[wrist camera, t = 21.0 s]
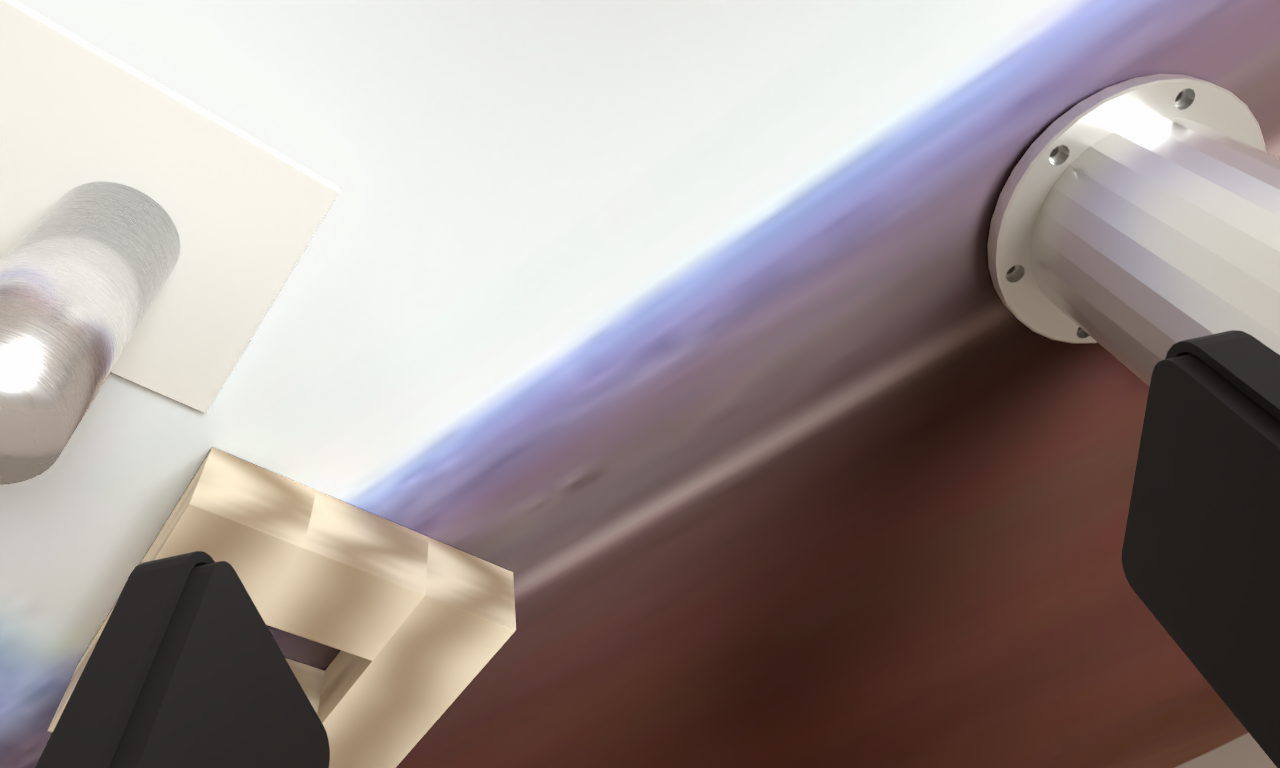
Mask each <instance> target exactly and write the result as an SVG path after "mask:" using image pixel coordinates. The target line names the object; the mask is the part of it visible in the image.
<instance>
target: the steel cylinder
mask: <svg viewBox="0 0 1280 768" xmlns="http://www.w3.org/2000/svg"><path fill="white" fill-rule="evenodd" d="M179 255H180V239H179V234H178V231H177V229H176V226H175V224H174V222H173V221H172V219H171V218H170V216H169V215H168V213H167V212H166V211H165V210H164V209H163V208H162V207H161V206H160V205H159V204H158V203H157V202H156V201H155V200H153V199H152V198H151V197H149V196H148V195H146V194H144V193H143V192H141V191H139V190H137V189H134V188H132V187H129V186H126V185H123V184H119V183H113V182H91V183H86V184H82V185H80V186H77V187H75V188H73V189H71V190H70V191H69V192H67V193H66V194H65V195H64V196H63V197H62V198H61V199H60V200H59V201H58V202H57V203H56V204H55V205H54V206H53V207H52V208H51V209H50V210H49V211H48V212H47V213H46V214H45V215H44V216H43V217H42V218H41V219H40V220H39V221H38V222H37V223H36V225H35V226H34V227H33V228H32V229H31V230H30V231H29V232H28V233H27V234H26V235H25V236H24V237H23V238H22V239H21V240H20V241H19V242H18V243H17V244H16V245H15V246H14V247H13V248H12V249H11V250H10V251H9V252H8V253H7V254H6V255H5V256H4V257H3V258H2V259H1V260H0V484H10V483H16V482H21V481H25V480H27V479H30V478H33V477H35V476H37V475H39V474H41V473H42V472H44V471H45V470H47V469H48V468H49V467H50V466H51V465H52V464H53V463H54V462H55V461H56V459H57V458H58V457H59V455H60V453H61V452H62V450H63V448H64V447H65V445H66V444H67V442H68V440H69V439H70V437H71V435H72V434H73V432H74V431H75V429H76V427H77V426H78V424H79V422H80V421H81V419H82V417H83V416H84V414H85V413H86V411H87V409H88V408H89V406H90V404H91V403H92V401H93V400H94V398H95V396H96V395H97V393H98V391H99V390H100V388H101V386H102V385H103V383H104V382H105V380H106V378H107V377H108V375H109V373H110V372H111V370H112V369H113V367H114V365H115V364H116V362H117V360H118V359H119V357H120V355H121V354H122V352H123V351H124V349H125V347H126V346H127V344H128V342H129V341H130V339H131V338H132V336H133V334H134V333H135V331H136V329H137V328H138V326H139V324H140V323H141V321H142V320H143V318H144V316H145V315H146V313H147V311H148V310H149V308H150V307H151V305H152V303H153V302H154V300H155V298H156V297H157V295H158V293H159V292H160V290H161V289H162V287H163V285H164V284H165V282H166V280H167V279H168V277H169V276H170V274H171V272H172V271H173V269H174V267H175V266H176V263H177V261H178V258H179Z"/></svg>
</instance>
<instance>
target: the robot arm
mask: <svg viewBox="0 0 1280 768" xmlns="http://www.w3.org/2000/svg"><path fill="white" fill-rule="evenodd" d="M987 245H988V267H989V271H990V275H991V278H992V282H993V285H994V288H995V290H996V292H997V294H998V295H999V297H1000V299H1001V301H1002V302H1003V304H1004V305H1005V306H1006V307H1007V308H1008V309H1009V310H1010V312H1011V313H1012V314H1013V315H1014V316H1015V317H1016V318H1017V319H1018V320H1019V321H1021V322H1022V323H1023V324H1024V325H1026V326H1027V327H1028V328H1030V329H1031V330H1032V331H1033V332H1035V333H1038V334H1040V335H1042V336H1045V337H1047V338H1049V339H1052V340H1056V341H1062V342H1067V343H1072V344H1080V343H1099V344H1100V345H1101V346H1102V347H1104V348H1105V349H1106V350H1107V351H1108V352H1109V353H1111V354H1112V355H1113V356H1114V357H1115V358H1116V359H1118V360H1119V361H1120V362H1121V363H1122V364H1123V365H1124V366H1126V367H1127V368H1128V369H1129V370H1130V371H1131V372H1133V373H1134V374H1135V375H1136V376H1137V377H1138V378H1140V379H1141V380H1142V381H1143V382H1144V383H1145V384H1146V385H1148V386H1149V387H1150V388H1149V394H1148V400H1147V406H1146V412H1145V418H1144V424H1143V430H1142V436H1141V442H1140V448H1139V454H1138V460H1137V466H1136V472H1135V478H1134V484H1133V490H1132V496H1131V502H1130V508H1129V514H1128V520H1127V526H1126V532H1125V538H1124V544H1123V550H1122V564H1123V569H1124V572H1125V575H1126V578H1127V580H1128V582H1129V584H1130V586H1131V587H1132V589H1133V590H1134V592H1135V593H1136V594H1137V595H1138V596H1139V598H1140V599H1141V600H1142V601H1143V603H1144V604H1145V605H1146V606H1147V608H1148V609H1149V610H1150V611H1151V612H1152V614H1153V615H1154V616H1155V617H1156V619H1157V620H1158V621H1159V622H1160V624H1161V625H1162V626H1163V627H1164V628H1165V630H1166V631H1167V632H1168V633H1169V635H1170V636H1171V637H1172V638H1173V640H1174V641H1175V642H1176V643H1177V644H1178V646H1179V647H1180V648H1181V649H1182V651H1183V652H1184V653H1185V654H1186V656H1187V657H1188V658H1189V659H1190V660H1191V662H1192V663H1193V664H1194V665H1195V667H1196V668H1197V669H1198V670H1199V672H1200V673H1201V674H1202V675H1203V676H1204V678H1205V679H1206V680H1207V681H1208V683H1209V684H1210V685H1211V686H1212V688H1213V689H1214V690H1215V691H1216V692H1217V694H1218V695H1219V696H1220V697H1221V699H1222V700H1223V701H1224V702H1225V704H1226V705H1227V706H1228V707H1229V708H1230V710H1231V711H1232V712H1233V713H1234V715H1235V716H1236V717H1237V718H1238V720H1239V721H1240V722H1241V723H1242V725H1243V726H1244V727H1245V728H1246V729H1247V731H1248V732H1249V733H1250V734H1251V736H1252V737H1253V738H1254V739H1255V741H1257V743H1258V744H1259V745H1260V747H1261V748H1262V749H1263V750H1264V751H1265V753H1266V754H1267V755H1268V756H1269V758H1270V759H1271V760H1272V761H1273V763H1274V764H1275V765H1276V766H1277V768H1280V158H1278V157H1276V156H1274V155H1271V154H1269V153H1267V152H1266V149H1265V142H1264V139H1263V136H1262V133H1261V130H1260V126H1259V123H1258V122H1257V120H1256V119H1255V117H1254V116H1253V114H1252V113H1251V111H1250V110H1249V108H1248V106H1247V105H1246V104H1244V103H1243V102H1242V101H1241V100H1240V99H1239V98H1237V97H1236V96H1235V95H1234V94H1233V93H1231V92H1230V91H1228V90H1226V89H1223V88H1221V87H1219V86H1217V85H1214V84H1212V83H1210V82H1208V81H1204V80H1201V79H1197V78H1194V77H1191V76H1187V75H1176V74H1156V75H1150V76H1144V77H1138V78H1132V79H1130V80H1127V81H1124V82H1121V83H1118V84H1116V85H1113V86H1110V87H1107V88H1105V89H1103V90H1101V91H1099V92H1098V93H1096V94H1094V95H1092V96H1090V97H1088V98H1087V99H1085V100H1083V101H1081V102H1079V103H1078V104H1077V105H1075V106H1074V107H1073V108H1071V109H1070V110H1069V111H1067V112H1066V113H1065V114H1063V115H1062V116H1061V117H1059V118H1058V119H1057V120H1056V121H1054V122H1053V123H1052V124H1051V125H1050V126H1049V127H1048V128H1047V129H1046V130H1045V131H1044V132H1043V133H1042V134H1041V135H1040V136H1039V137H1038V138H1037V139H1036V140H1035V141H1034V142H1033V143H1032V145H1031V146H1030V147H1029V149H1028V150H1027V151H1026V153H1025V154H1024V155H1023V157H1022V158H1021V159H1020V161H1019V162H1018V163H1017V165H1016V166H1015V168H1014V169H1013V171H1012V173H1011V175H1010V177H1009V178H1008V180H1007V182H1006V184H1005V186H1004V188H1003V190H1002V192H1001V193H1000V196H999V199H998V202H997V205H996V208H995V210H994V213H993V216H992V219H991V225H990V231H989V238H988V244H987ZM329 762H330V748H329V740H328V736H327V732H326V730H325V728H324V726H323V724H322V722H321V720H320V719H319V717H318V715H317V713H316V712H315V710H314V708H313V706H312V705H311V703H310V701H309V699H308V698H307V696H306V694H305V692H304V691H303V689H302V687H301V685H300V684H299V682H298V680H297V678H296V677H295V675H294V673H293V671H292V669H291V668H290V666H289V664H288V662H287V661H286V659H285V657H284V655H283V654H282V652H281V650H280V648H279V647H278V645H277V643H276V641H275V640H274V638H273V636H272V634H271V633H270V631H269V629H268V627H267V626H266V624H265V622H264V620H263V619H262V617H261V615H260V613H259V612H258V610H257V608H256V606H255V605H254V603H253V601H252V599H251V598H250V596H249V594H248V592H247V591H246V589H245V587H244V585H243V584H242V582H241V580H240V578H239V577H238V575H237V573H236V571H235V570H234V568H233V567H232V566H231V564H229V563H228V562H226V561H219V562H215V561H214V560H213V559H212V557H211V556H210V555H208V554H207V553H205V552H203V551H195V552H191V553H186V554H181V555H176V556H172V557H167V558H162V559H158V560H153V561H148V562H144V563H142V564H140V565H138V566H136V567H135V569H134V570H133V572H132V573H131V574H130V576H129V578H128V580H127V582H126V584H125V587H124V589H123V591H122V593H121V595H120V597H119V599H118V601H117V603H116V605H115V607H114V609H113V611H112V613H111V615H110V617H109V619H108V621H107V623H106V625H105V627H104V629H103V631H102V633H101V635H100V637H99V639H98V641H97V643H96V645H95V647H94V649H93V652H92V654H91V656H90V658H89V660H88V662H87V664H86V666H85V668H84V670H83V672H82V674H81V676H80V678H79V680H78V682H77V684H76V686H75V688H74V690H73V692H72V694H71V696H70V698H69V700H68V702H67V704H66V706H65V708H64V710H63V712H62V714H61V717H60V719H59V721H58V723H57V725H56V727H55V729H54V731H53V733H52V735H51V737H50V739H49V741H48V743H47V745H46V747H45V749H44V751H43V753H42V755H41V757H40V759H39V761H38V763H37V765H36V767H35V768H329Z"/></svg>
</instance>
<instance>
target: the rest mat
mask: <svg viewBox="0 0 1280 768" xmlns="http://www.w3.org/2000/svg"><path fill="white" fill-rule="evenodd" d="M91 182H113V183H119V184H123V185H126V186H129V187H132V188H134V189H137V190H139V191H141V192H143V193H144V194H146V195H148V196H149V197H151V198H152V199H153V200H155V201H156V202H157V203H158V204H159V205H160V206H161V207H162V208H163V209H164V210H165V211H166V212H167V213H168V215H169V216H170V218H171V219H172V221H173V222H174V224H175V226H176V229H177V231H178V234H179V239H180V255H179V258H178V261H177V263H176V266H175V267H174V269H173V271H172V272H171V274H170V276H169V277H168V279H167V280H166V282H165V284H164V285H163V287H162V289H161V290H160V292H159V293H158V295H157V297H156V298H155V300H154V302H153V303H152V305H151V307H150V308H149V310H148V311H147V313H146V315H145V316H144V318H143V320H142V321H141V323H140V324H139V326H138V328H137V329H136V331H135V333H134V334H133V336H132V338H131V339H130V341H129V342H128V344H127V346H126V347H125V349H124V351H123V352H122V354H121V355H120V357H119V359H118V360H117V362H116V364H115V365H114V367H113V369H112V370H111V373H113V374H116V375H118V376H120V377H123V378H125V379H127V380H130V381H132V382H134V383H137V384H139V385H141V386H144V387H146V388H148V389H150V390H153V391H155V392H157V393H160V394H162V395H164V396H167V397H169V398H171V399H174V400H176V401H178V402H181V403H183V404H185V405H188V406H190V407H192V408H194V409H197V410H199V411H201V412H204V413H207V411H208V409H209V408H210V406H211V404H212V403H213V401H214V399H215V398H216V396H217V395H218V393H219V391H220V390H221V388H222V386H223V385H224V383H225V381H226V380H227V378H228V376H229V375H230V373H231V371H232V370H233V368H234V366H235V365H236V363H237V361H238V360H239V358H240V356H241V355H242V353H243V351H244V350H245V348H246V346H247V345H248V343H249V342H250V340H251V338H252V337H253V335H254V333H255V332H256V330H257V328H258V327H259V325H260V323H261V322H262V320H263V318H264V317H265V315H266V313H267V312H268V310H269V308H270V307H271V305H272V303H273V302H274V300H275V298H276V297H277V295H278V293H279V292H280V290H281V289H282V287H283V285H284V284H285V282H286V280H287V279H288V277H289V275H290V274H291V272H292V270H293V269H294V267H295V265H296V264H297V262H298V260H299V259H300V257H301V255H302V254H303V252H304V250H305V249H306V247H307V245H308V244H309V242H310V240H311V239H312V237H313V236H314V234H315V232H316V231H317V229H318V227H319V226H320V224H321V222H322V221H323V219H324V217H325V216H326V214H327V212H328V211H329V209H330V207H331V206H332V204H333V202H334V201H335V199H336V197H337V196H338V194H339V192H340V189H341V187H339V186H337V185H336V184H334V183H332V182H331V181H329V180H327V179H325V178H324V177H322V176H320V175H318V174H317V173H315V172H313V171H311V170H310V169H308V168H306V167H304V166H303V165H301V164H299V163H298V162H296V161H294V160H292V159H291V158H289V157H287V156H285V155H284V154H282V153H280V152H278V151H277V150H275V149H273V148H271V147H270V146H268V145H266V144H265V143H263V142H261V141H259V140H258V139H256V138H254V137H252V136H251V135H249V134H247V133H245V132H244V131H242V130H240V129H239V128H237V127H235V126H233V125H232V124H230V123H228V122H226V121H225V120H223V119H221V118H219V117H218V116H216V115H214V114H212V113H211V112H209V111H207V110H206V109H204V108H202V107H200V106H199V105H197V104H195V103H193V102H192V101H190V100H188V99H186V98H185V97H183V96H181V95H179V94H178V93H176V92H174V91H173V90H171V89H169V88H167V87H166V86H164V85H162V84H160V83H159V82H157V81H155V80H153V79H152V78H150V77H148V76H146V75H145V74H143V73H141V72H140V71H138V70H136V69H134V68H133V67H131V66H129V65H127V64H126V63H124V62H122V61H120V60H119V59H117V58H115V57H114V56H112V55H110V54H108V53H107V52H105V51H103V50H101V49H100V48H98V47H96V46H94V45H93V44H91V43H89V42H87V41H86V40H84V39H82V38H81V37H79V36H77V35H75V34H74V33H72V32H70V31H68V30H67V29H65V28H63V27H61V26H60V25H58V24H56V23H54V22H53V21H51V20H49V19H48V18H46V17H44V16H42V15H41V14H39V13H37V12H35V11H34V10H32V9H30V8H28V7H27V6H25V5H23V4H22V3H20V2H18V1H16V0H0V260H1V259H2V258H3V257H4V256H5V255H6V254H7V253H8V252H9V251H10V250H11V249H12V248H13V247H14V246H15V245H16V244H17V243H18V242H19V241H20V240H21V239H22V238H23V237H24V236H25V235H26V234H27V233H28V232H29V231H30V230H31V229H32V228H33V227H34V226H35V225H36V223H37V222H38V221H39V220H40V219H41V218H42V217H43V216H44V215H45V214H46V213H47V212H48V211H49V210H50V209H51V208H52V207H53V206H54V205H55V204H56V203H57V202H58V201H59V200H60V199H61V198H62V197H63V196H64V195H65V194H66V193H67V192H69V191H70V190H71V189H73V188H75V187H77V186H80V185H82V184H86V183H91Z"/></svg>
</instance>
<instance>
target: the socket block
mask: <svg viewBox="0 0 1280 768" xmlns="http://www.w3.org/2000/svg"><path fill="white" fill-rule="evenodd" d="M195 551H203V552H205V553H207V554H208V555H210V556H211V557H212V559H213V560H214V561H215V562H219V561H226V562H228V563H229V564H231V566H232V567H233V568H234V570H235V571H236V573H237V575H238V577H239V578H240V580H241V582H242V584H243V585H244V587H245V589H246V591H247V592H248V594H249V596H250V598H251V599H252V601H253V603H254V605H255V606H256V608H257V610H258V612H259V613H260V615H261V617H262V619H263V620H264V622H265V624H266V625H269V626H271V627H274V628H277V629H280V630H283V631H286V632H289V633H292V634H295V635H298V636H301V637H304V638H307V639H310V640H313V641H315V642H318V643H321V644H324V645H327V646H330V647H333V648H336V649H339V650H341V651H340V652H339V653H338V655H337V656H336V657H335V659H334V660H333V661H332V662H331V664H330V665H329V666H328V668H327V669H326V670H325V671H324V670H321V669H318V668H315V667H312V666H309V665H306V664H302V663H299V662H296V661H293V660H290V659H287V658H285V659H286V661H287V662H288V664H289V666H290V668H291V669H292V671H293V673H294V675H295V677H296V678H297V680H298V682H299V684H300V685H301V687H302V689H303V691H304V692H305V694H306V696H307V698H308V699H309V701H310V703H311V705H312V706H313V708H314V710H315V712H316V713H317V715H318V717H319V719H320V720H321V722H322V724H323V726H324V728H325V730H326V732H327V736H328V740H329V748H330V762H329V768H396V767H397V765H398V764H399V763H400V762H401V761H402V760H403V759H404V757H405V756H406V755H407V754H408V753H409V752H410V751H411V749H412V748H413V747H414V746H415V745H416V744H417V743H418V741H419V740H420V739H421V738H422V737H423V736H424V735H425V733H426V732H427V731H428V730H429V729H430V728H431V727H432V725H433V724H434V723H435V722H436V721H437V720H438V719H439V718H440V716H441V715H442V714H443V713H444V712H445V711H446V710H447V708H448V707H449V706H450V705H451V704H452V703H453V702H454V700H455V699H456V698H457V697H458V696H459V695H460V694H461V692H462V691H463V690H464V689H465V688H466V687H467V686H468V684H469V683H470V682H471V681H472V680H473V679H474V678H475V676H476V675H477V674H478V673H479V672H480V671H481V670H482V668H483V667H484V666H485V665H486V664H487V663H488V662H489V660H490V659H491V658H492V657H493V656H494V655H495V654H496V652H497V651H498V650H499V649H500V648H501V647H502V646H503V644H504V643H505V642H506V641H507V640H508V639H509V638H510V636H511V635H512V634H513V633H514V632H515V631H516V618H515V600H514V581H513V572H511V571H508V570H506V569H504V568H501V567H499V566H496V565H494V564H492V563H489V562H487V561H484V560H482V559H480V558H477V557H475V556H472V555H470V554H468V553H465V552H463V551H460V550H458V549H456V548H453V547H451V546H448V545H446V544H444V543H441V542H439V541H436V540H434V539H432V538H429V537H427V536H424V535H422V534H420V533H417V532H415V531H412V530H410V529H408V528H405V527H403V526H400V525H398V524H396V523H393V522H391V521H389V520H386V519H384V518H381V517H379V516H377V515H374V514H372V513H369V512H367V511H365V510H362V509H360V508H357V507H355V506H353V505H350V504H348V503H345V502H343V501H341V500H338V499H336V498H333V497H331V496H329V495H326V494H324V493H321V492H319V491H317V490H314V489H312V488H309V487H307V486H305V485H302V484H300V483H297V482H295V481H293V480H290V479H288V478H285V477H283V476H281V475H278V474H276V473H273V472H271V471H269V470H266V469H264V468H261V467H259V466H257V465H254V464H252V463H249V462H247V461H245V460H242V459H240V458H237V457H235V456H233V455H230V454H228V453H225V452H223V451H221V450H218V449H216V448H213V447H212V448H211V450H210V452H209V453H208V455H207V456H206V458H205V460H204V461H203V463H202V464H201V466H200V468H199V469H198V471H197V473H196V474H195V476H194V477H193V479H192V481H191V482H190V484H189V485H188V487H187V489H186V490H185V492H184V494H183V495H182V497H181V498H180V500H179V502H178V503H177V505H176V506H175V508H174V510H173V511H172V513H171V515H170V516H169V518H168V519H167V521H166V523H165V524H164V526H163V528H162V529H161V531H160V532H159V534H158V536H157V537H156V539H155V540H154V542H153V544H152V545H151V547H150V549H149V550H148V552H147V553H146V555H145V557H144V558H143V560H142V561H141V563H140V564H142V563H144V562H148V561H153V560H158V559H162V558H167V557H172V556H176V555H181V554H186V553H191V552H195ZM117 601H118V600H117ZM116 603H117V602H116ZM115 605H116V604H115ZM115 605H114V607H115ZM114 607H113V608H112V610H111V612H110V613H109V615H108V616H107V618H106V620H105V621H104V623H103V625H102V626H101V628H100V629H99V631H98V633H97V634H96V636H95V637H94V639H93V641H92V642H91V644H90V646H89V647H88V649H87V650H86V652H85V654H84V655H83V657H82V658H81V660H80V662H79V663H78V665H77V667H76V669H75V672H74V674H73V676H72V678H71V680H70V683H69V685H68V687H67V689H66V691H65V694H64V696H63V698H62V700H61V702H60V704H59V707H58V709H57V711H56V713H55V715H54V718H53V720H52V722H51V724H50V726H49V729H48V731H50V732H53V731H54V729H55V727H56V725H57V723H58V721H59V719H60V717H61V714H62V712H63V710H64V708H65V706H66V704H67V702H68V700H69V698H70V696H71V694H72V692H73V690H74V688H75V686H76V684H77V682H78V680H79V678H80V676H81V674H82V672H83V670H84V668H85V666H86V664H87V662H88V660H89V658H90V656H91V654H92V652H93V649H94V647H95V645H96V643H97V641H98V639H99V637H100V635H101V633H102V631H103V629H104V627H105V625H106V623H107V621H108V619H109V617H110V615H111V613H112V611H113V609H114Z"/></svg>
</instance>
